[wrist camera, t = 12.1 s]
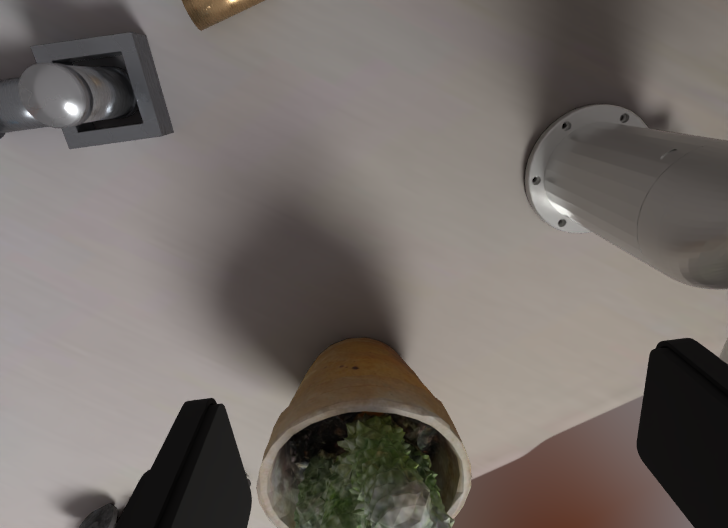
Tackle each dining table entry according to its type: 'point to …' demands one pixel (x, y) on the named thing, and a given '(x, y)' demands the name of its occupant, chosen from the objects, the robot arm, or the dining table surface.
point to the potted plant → (363, 448)
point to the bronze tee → (215, 10)
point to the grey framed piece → (3, 102)
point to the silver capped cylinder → (76, 94)
